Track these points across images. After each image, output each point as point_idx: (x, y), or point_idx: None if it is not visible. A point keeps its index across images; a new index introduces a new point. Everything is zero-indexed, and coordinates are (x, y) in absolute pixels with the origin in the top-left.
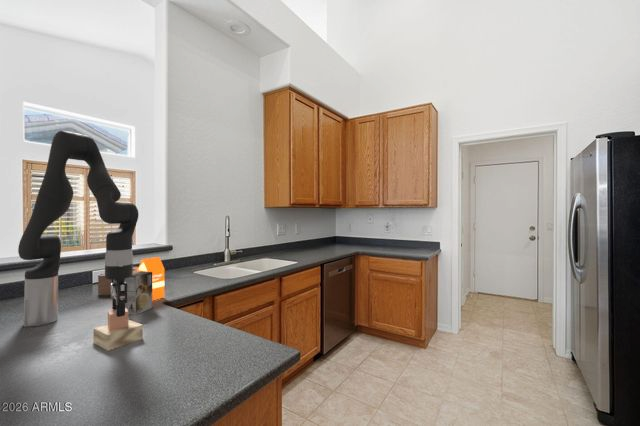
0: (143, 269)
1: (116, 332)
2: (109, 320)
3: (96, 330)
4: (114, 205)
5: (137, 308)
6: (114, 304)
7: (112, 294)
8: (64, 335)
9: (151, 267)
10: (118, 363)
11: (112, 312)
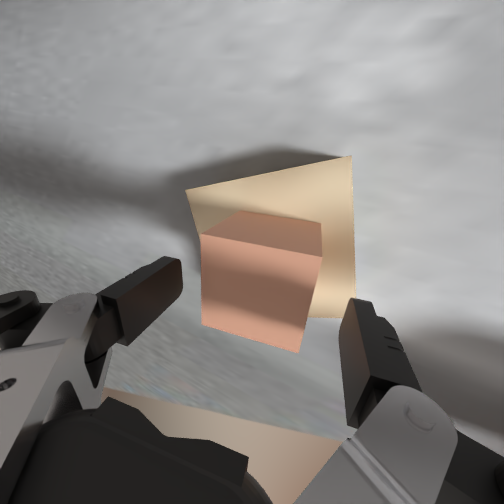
0: None
1: (199, 224)
2: (231, 224)
3: (308, 164)
4: None
5: None
6: (353, 334)
7: (348, 442)
8: None
9: None
10: (114, 183)
11: (246, 263)
